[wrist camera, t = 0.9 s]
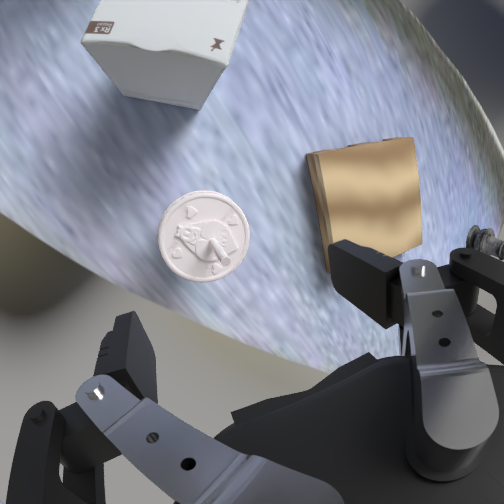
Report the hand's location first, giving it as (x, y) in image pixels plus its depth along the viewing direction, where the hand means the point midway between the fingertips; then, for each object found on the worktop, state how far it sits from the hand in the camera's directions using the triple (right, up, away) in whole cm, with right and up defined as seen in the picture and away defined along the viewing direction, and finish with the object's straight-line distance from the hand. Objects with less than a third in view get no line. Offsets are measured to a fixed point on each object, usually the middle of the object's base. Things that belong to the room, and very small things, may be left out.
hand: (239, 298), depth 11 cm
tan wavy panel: (+14, +8, +23) cm, 28 cm away
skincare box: (-8, +18, +13) cm, 24 cm away
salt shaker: (+41, +4, +32) cm, 53 cm away
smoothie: (-5, +5, +18) cm, 19 cm away
